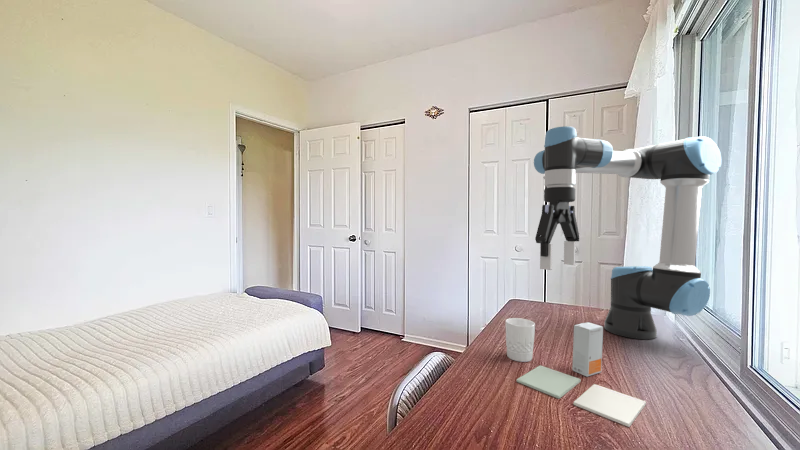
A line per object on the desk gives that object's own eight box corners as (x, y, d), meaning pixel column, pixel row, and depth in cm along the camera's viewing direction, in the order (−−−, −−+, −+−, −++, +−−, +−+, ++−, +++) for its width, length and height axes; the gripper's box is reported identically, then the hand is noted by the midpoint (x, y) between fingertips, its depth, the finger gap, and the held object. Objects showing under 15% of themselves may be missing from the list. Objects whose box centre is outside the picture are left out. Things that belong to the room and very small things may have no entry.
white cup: (536, 364, 91) (537, 327, 90) (506, 361, 92) (507, 325, 92) (531, 353, 98) (532, 318, 98) (503, 350, 100) (504, 317, 100)
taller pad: (594, 386, 79) (594, 383, 79) (645, 404, 72) (645, 401, 72) (573, 404, 71) (573, 401, 71) (629, 427, 64) (629, 423, 64)
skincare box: (587, 377, 83) (588, 329, 83) (571, 370, 87) (572, 324, 87) (602, 372, 86) (603, 326, 86) (586, 366, 90) (587, 321, 90)
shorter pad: (540, 367, 89) (540, 365, 89) (580, 381, 81) (580, 379, 81) (516, 381, 81) (516, 379, 81) (559, 398, 73) (559, 396, 73)
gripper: (565, 190, 100) (564, 261, 101) (521, 185, 84) (520, 269, 85) (593, 189, 95) (591, 264, 95) (551, 182, 79) (549, 273, 79)
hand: (558, 267), depth 90 cm, fingers open, 13 cm apart
